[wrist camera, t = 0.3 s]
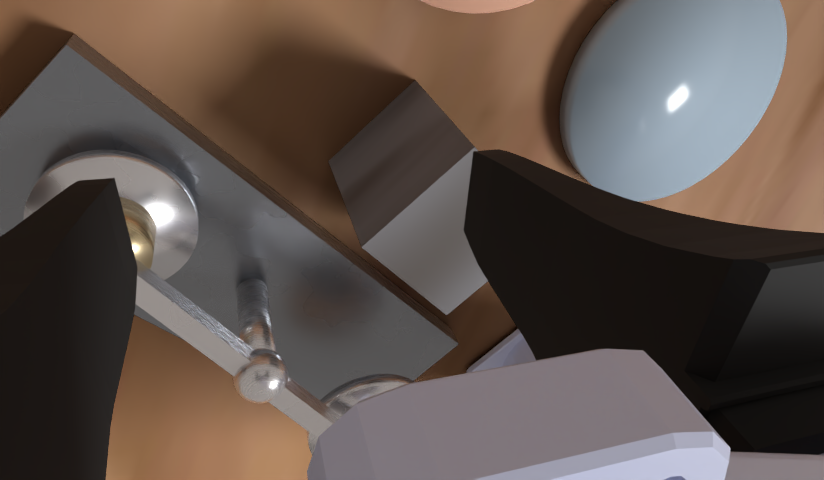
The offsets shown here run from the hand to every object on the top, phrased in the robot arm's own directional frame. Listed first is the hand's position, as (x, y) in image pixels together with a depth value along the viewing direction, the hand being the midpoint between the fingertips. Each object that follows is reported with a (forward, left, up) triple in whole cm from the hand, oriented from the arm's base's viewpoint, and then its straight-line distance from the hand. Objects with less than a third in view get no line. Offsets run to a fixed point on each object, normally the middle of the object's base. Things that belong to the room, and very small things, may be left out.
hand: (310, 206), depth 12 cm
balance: (-5, +7, -10) cm, 13 cm away
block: (-6, -1, -10) cm, 12 cm away
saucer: (-12, -11, -10) cm, 19 cm away
